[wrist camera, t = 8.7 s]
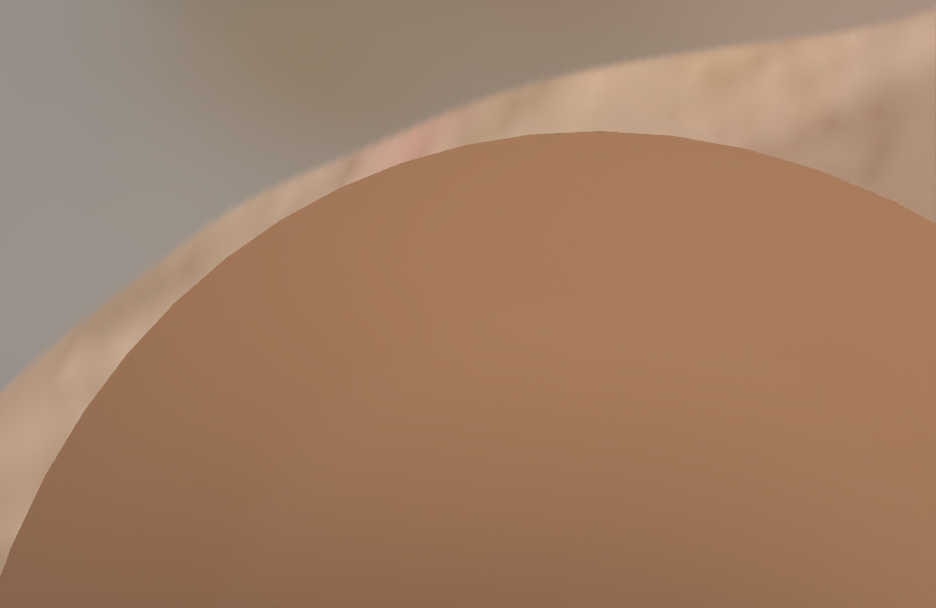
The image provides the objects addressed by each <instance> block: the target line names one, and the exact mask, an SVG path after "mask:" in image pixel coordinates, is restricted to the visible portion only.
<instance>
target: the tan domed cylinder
mask: <svg viewBox="0 0 936 608" xmlns="http://www.w3.org/2000/svg"><path fill="white" fill-rule="evenodd" d="M0 608H936V224H934V223H933V222H931V221H929V220H927V219H925V218H924V217H922V216H920V215H918V214H916V213H914V212H913V211H911V210H909V209H907V208H905V207H903V206H902V205H900V204H898V203H896V202H894V201H892V200H889V199H887V198H884V197H882V196H879V195H877V194H875V193H872V192H870V191H867V190H865V189H863V188H860V187H858V186H855V185H853V184H850V183H848V182H846V181H843V180H841V179H838V178H836V177H834V176H831V175H829V174H826V173H824V172H822V171H819V170H816V169H812V168H809V167H805V166H802V165H798V164H795V163H792V162H788V161H785V160H781V159H778V158H774V157H771V156H768V155H764V154H761V153H757V152H754V151H751V150H747V149H743V148H738V147H732V146H726V145H720V144H715V143H709V142H703V141H698V140H692V139H686V138H681V137H675V136H666V135H650V134H634V133H618V132H602V131H596V132H576V133H556V134H536V135H526V136H520V137H514V138H508V139H502V140H495V141H489V142H483V143H477V144H471V145H465V146H461V147H457V148H454V149H450V150H447V151H443V152H440V153H436V154H433V155H429V156H425V157H422V158H418V159H415V160H411V161H408V162H404V163H401V164H398V165H396V166H393V167H391V168H388V169H386V170H383V171H381V172H378V173H376V174H373V175H371V176H369V177H366V178H364V179H361V180H359V181H356V182H354V183H351V184H349V185H346V186H344V187H342V188H339V189H337V190H335V191H334V192H332V193H330V194H328V195H326V196H324V197H323V198H321V199H319V200H317V201H315V202H313V203H311V204H310V205H308V206H306V207H304V208H302V209H300V210H299V211H297V212H295V213H293V214H291V215H289V216H288V217H286V218H284V219H282V220H280V221H279V222H278V223H276V224H275V225H273V226H272V227H270V228H269V229H267V230H266V231H265V232H263V233H262V234H260V235H259V236H257V237H256V238H255V239H253V240H252V241H250V242H249V243H247V244H246V245H244V246H243V247H242V248H240V249H239V250H237V251H236V252H234V253H233V254H232V255H230V256H229V257H227V258H226V259H225V260H224V261H222V262H221V263H220V264H219V265H218V266H217V267H216V268H214V269H213V270H212V271H211V272H210V273H209V274H207V275H206V276H205V277H204V278H203V279H202V280H201V281H199V282H198V283H197V284H196V285H195V286H194V287H193V288H191V289H190V290H189V291H188V292H187V293H186V294H184V295H183V296H182V297H181V298H180V299H179V300H178V301H176V302H175V303H174V304H173V305H172V306H171V308H170V309H169V310H168V311H167V312H166V313H165V314H164V315H163V316H162V317H161V318H160V319H159V320H158V322H157V323H156V324H155V325H154V326H153V327H152V328H151V329H150V330H149V331H148V332H147V333H146V334H145V336H144V337H143V338H142V339H141V340H140V341H139V342H138V343H137V344H136V345H135V346H134V347H133V348H132V350H131V351H130V352H129V353H128V354H127V355H126V356H125V358H124V359H123V360H122V362H121V363H120V364H119V366H118V367H117V368H116V370H115V371H114V372H113V374H112V375H111V376H110V378H109V379H108V380H107V382H106V383H105V384H104V386H103V387H102V388H101V390H100V391H99V392H98V394H97V395H96V396H95V398H94V399H93V400H92V402H91V403H90V404H89V406H88V407H87V408H86V410H85V411H84V412H83V414H82V416H81V417H80V419H79V421H78V422H77V424H76V426H75V427H74V429H73V431H72V432H71V434H70V436H69V437H68V439H67V441H66V442H65V444H64V446H63V447H62V449H61V451H60V452H59V454H58V456H57V457H56V459H55V460H54V462H53V464H52V465H51V467H50V469H49V470H48V472H47V474H46V475H45V477H44V479H43V481H42V484H41V486H40V488H39V490H38V492H37V494H36V496H35V498H34V500H33V503H32V505H31V507H30V509H29V511H28V513H27V515H26V517H25V519H24V522H23V524H22V526H21V528H20V530H19V532H18V534H17V536H16V539H15V541H14V543H13V545H12V547H11V549H10V552H9V555H8V558H7V561H6V563H5V566H4V569H3V572H2V575H1V577H0Z"/></svg>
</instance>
